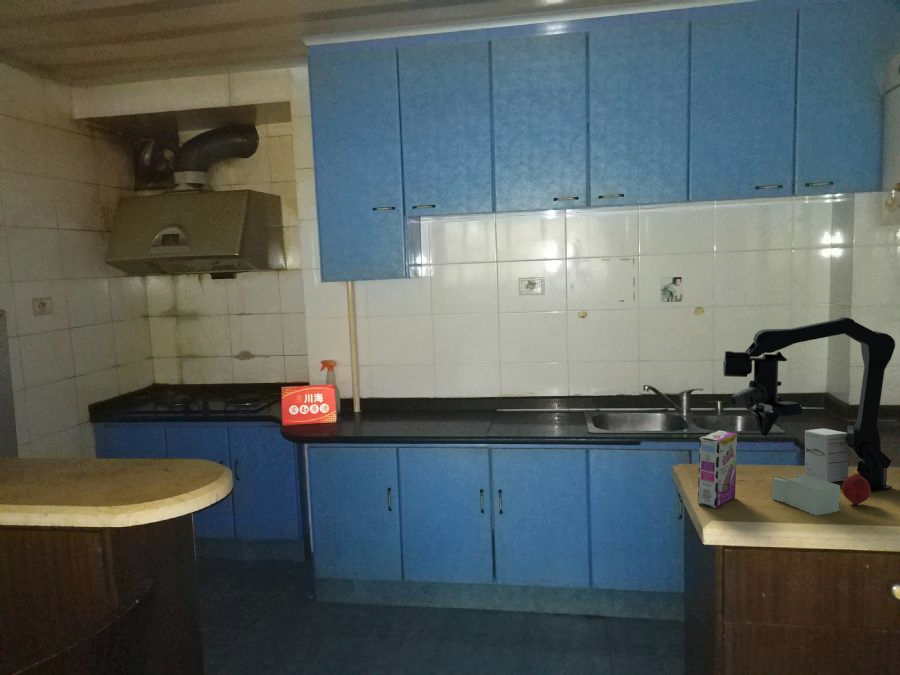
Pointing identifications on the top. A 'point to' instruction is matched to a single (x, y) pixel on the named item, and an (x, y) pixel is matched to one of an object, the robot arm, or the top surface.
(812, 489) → the forked bracket
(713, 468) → the candy bar box
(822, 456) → the supplement box
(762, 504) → the top surface
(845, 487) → the onion
